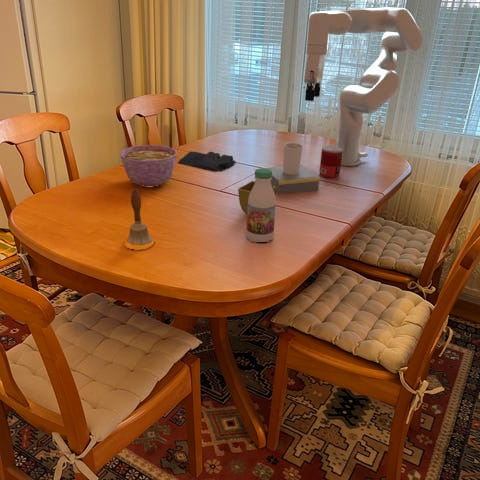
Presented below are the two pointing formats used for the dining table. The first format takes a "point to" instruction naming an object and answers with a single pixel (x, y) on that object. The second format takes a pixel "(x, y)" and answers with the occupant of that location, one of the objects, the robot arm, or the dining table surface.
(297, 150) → the white cup
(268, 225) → the milk bottle
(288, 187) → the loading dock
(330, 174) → the canned food
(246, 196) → the flower pot
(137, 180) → the bowl of food
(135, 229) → the hand bell
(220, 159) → the dark slate chunk
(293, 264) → the dining table surface
